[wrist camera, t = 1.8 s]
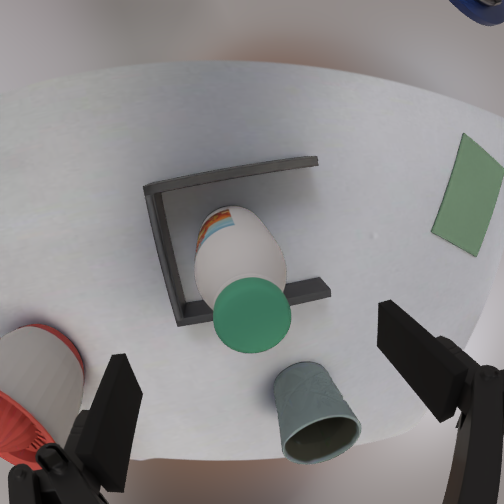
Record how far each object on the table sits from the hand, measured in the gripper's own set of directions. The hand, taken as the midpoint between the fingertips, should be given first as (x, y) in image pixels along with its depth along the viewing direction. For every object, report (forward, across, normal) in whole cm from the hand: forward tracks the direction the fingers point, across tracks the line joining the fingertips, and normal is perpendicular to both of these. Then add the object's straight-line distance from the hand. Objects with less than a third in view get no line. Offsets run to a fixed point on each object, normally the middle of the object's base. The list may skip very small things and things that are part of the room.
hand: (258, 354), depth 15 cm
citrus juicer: (+23, -31, -12) cm, 41 cm away
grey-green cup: (+23, +6, -24) cm, 34 cm away
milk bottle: (+23, 0, 0) cm, 23 cm away
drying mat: (+23, +37, 0) cm, 43 cm away
